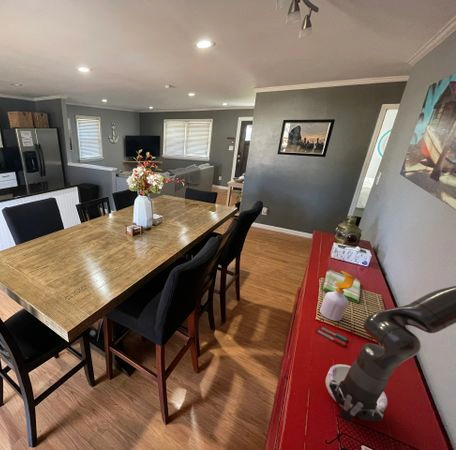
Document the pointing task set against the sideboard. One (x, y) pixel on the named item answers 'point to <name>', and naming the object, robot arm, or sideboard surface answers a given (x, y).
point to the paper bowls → (339, 375)
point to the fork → (335, 334)
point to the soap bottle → (336, 300)
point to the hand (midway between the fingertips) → (344, 417)
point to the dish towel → (336, 277)
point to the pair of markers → (332, 338)
